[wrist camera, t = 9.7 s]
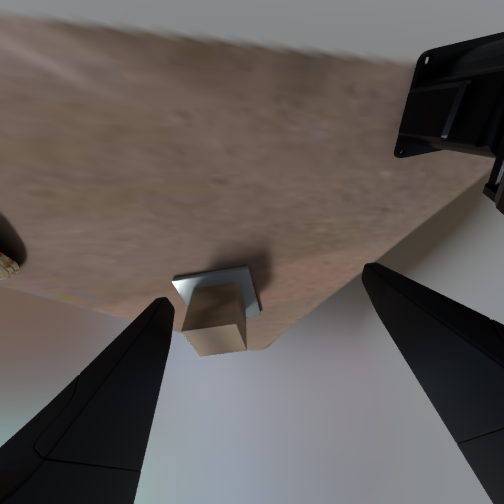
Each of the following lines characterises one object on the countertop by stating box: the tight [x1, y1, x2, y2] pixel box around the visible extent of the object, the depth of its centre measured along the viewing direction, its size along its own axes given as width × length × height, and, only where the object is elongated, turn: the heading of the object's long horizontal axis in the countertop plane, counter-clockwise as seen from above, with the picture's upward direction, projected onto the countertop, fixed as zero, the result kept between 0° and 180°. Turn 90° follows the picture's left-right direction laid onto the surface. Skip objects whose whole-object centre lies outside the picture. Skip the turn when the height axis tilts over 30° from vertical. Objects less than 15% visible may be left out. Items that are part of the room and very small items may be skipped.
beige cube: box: [181, 282, 247, 356], centre depth 24 cm, size 6×6×6 cm
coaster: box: [172, 266, 261, 317], centre depth 26 cm, size 10×10×1 cm
